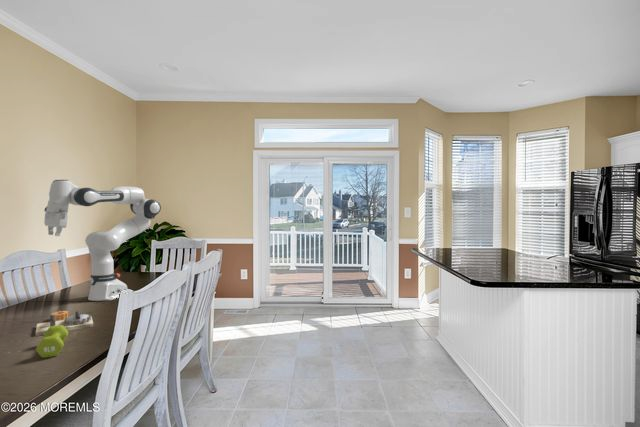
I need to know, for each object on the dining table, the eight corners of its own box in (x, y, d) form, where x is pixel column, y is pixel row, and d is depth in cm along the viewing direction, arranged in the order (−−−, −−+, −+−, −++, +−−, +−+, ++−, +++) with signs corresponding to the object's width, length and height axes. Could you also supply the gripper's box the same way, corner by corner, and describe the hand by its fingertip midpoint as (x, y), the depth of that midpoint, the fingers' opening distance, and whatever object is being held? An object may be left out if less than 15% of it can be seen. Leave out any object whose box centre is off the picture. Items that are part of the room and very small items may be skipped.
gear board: (91, 318, 163) (91, 306, 163) (93, 326, 153) (93, 313, 153) (37, 327, 151) (37, 313, 151) (35, 336, 141) (35, 321, 141)
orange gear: (51, 318, 163) (51, 312, 163) (68, 316, 167) (68, 309, 167) (50, 322, 157) (50, 316, 157) (68, 319, 161) (68, 313, 161)
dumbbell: (62, 356, 123) (62, 336, 123) (34, 360, 119) (34, 340, 119) (69, 340, 137) (69, 322, 137) (44, 344, 133) (44, 326, 133)
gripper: (72, 210, 176) (68, 237, 175) (57, 209, 188) (53, 234, 187) (58, 209, 171) (54, 236, 170) (43, 208, 183) (39, 233, 182)
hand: (53, 235), depth 178 cm, fingers open, 8 cm apart
